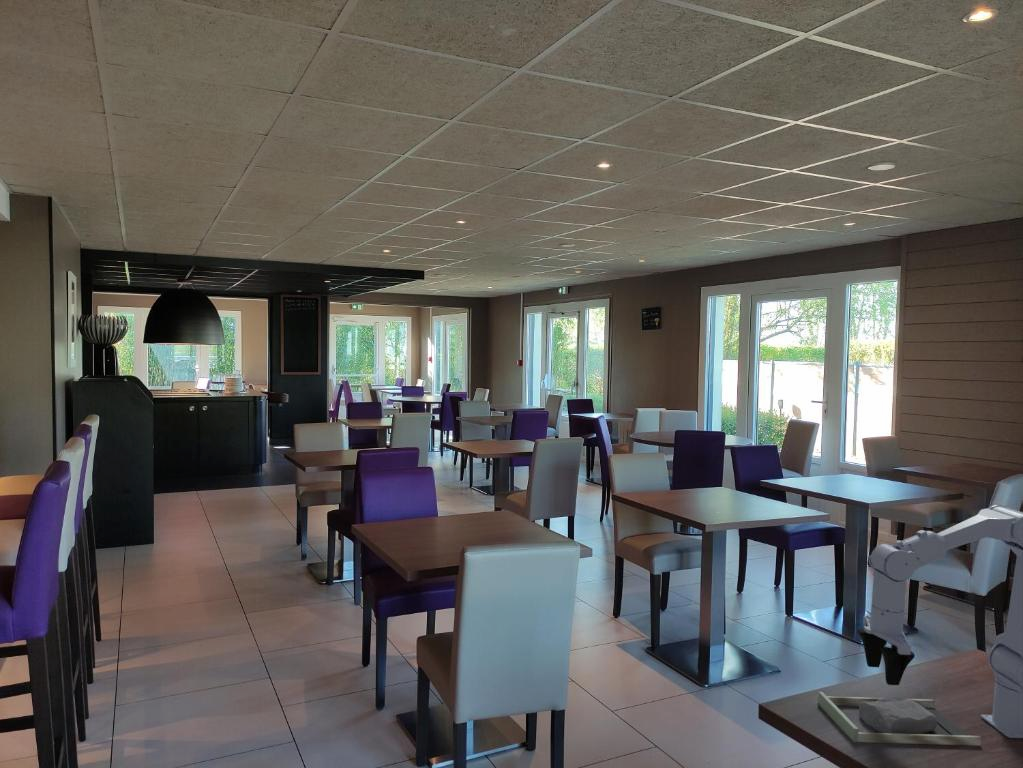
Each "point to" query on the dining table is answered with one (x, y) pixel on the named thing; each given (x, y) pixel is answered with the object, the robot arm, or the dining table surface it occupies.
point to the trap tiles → (944, 725)
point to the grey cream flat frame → (906, 737)
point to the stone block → (897, 716)
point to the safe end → (838, 717)
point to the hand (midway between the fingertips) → (882, 675)
